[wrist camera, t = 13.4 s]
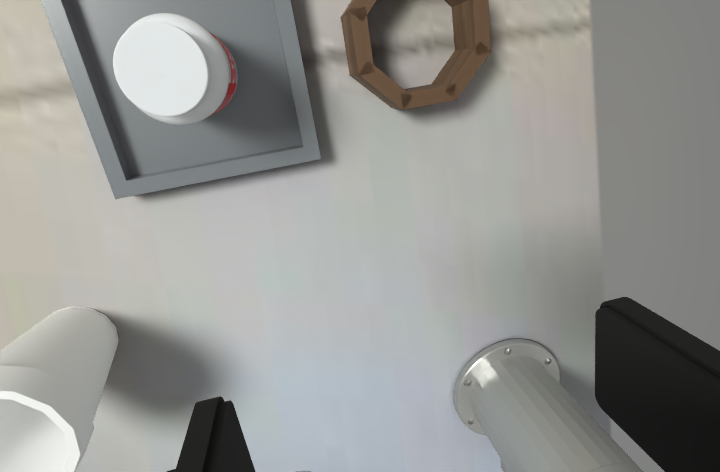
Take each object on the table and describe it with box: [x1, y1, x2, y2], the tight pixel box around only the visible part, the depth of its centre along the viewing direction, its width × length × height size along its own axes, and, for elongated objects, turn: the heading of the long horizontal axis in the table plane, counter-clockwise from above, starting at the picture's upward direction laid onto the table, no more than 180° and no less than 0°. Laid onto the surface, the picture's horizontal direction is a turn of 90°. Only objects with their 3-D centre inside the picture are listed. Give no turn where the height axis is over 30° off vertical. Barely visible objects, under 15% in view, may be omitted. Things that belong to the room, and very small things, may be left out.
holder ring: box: [341, 0, 491, 110], centre depth 34 cm, size 10×10×4 cm
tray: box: [40, 0, 321, 199], centre depth 33 cm, size 16×16×2 cm
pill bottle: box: [113, 13, 238, 125], centre depth 28 cm, size 6×6×11 cm
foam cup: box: [0, 306, 119, 472], centre depth 33 cm, size 10×9×13 cm
